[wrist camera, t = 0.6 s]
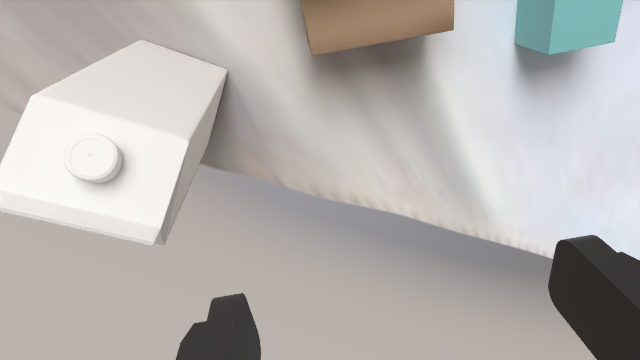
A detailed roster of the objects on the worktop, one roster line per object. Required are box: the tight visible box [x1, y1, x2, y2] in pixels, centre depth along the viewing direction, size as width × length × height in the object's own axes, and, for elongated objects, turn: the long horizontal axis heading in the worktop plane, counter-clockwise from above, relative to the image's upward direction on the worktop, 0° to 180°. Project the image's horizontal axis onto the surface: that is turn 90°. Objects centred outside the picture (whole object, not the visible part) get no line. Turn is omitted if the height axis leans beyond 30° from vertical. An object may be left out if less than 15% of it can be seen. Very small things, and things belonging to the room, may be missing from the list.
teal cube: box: [514, 0, 623, 55], centre depth 29 cm, size 5×5×5 cm
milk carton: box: [0, 40, 227, 246], centre depth 24 cm, size 7×7×19 cm
